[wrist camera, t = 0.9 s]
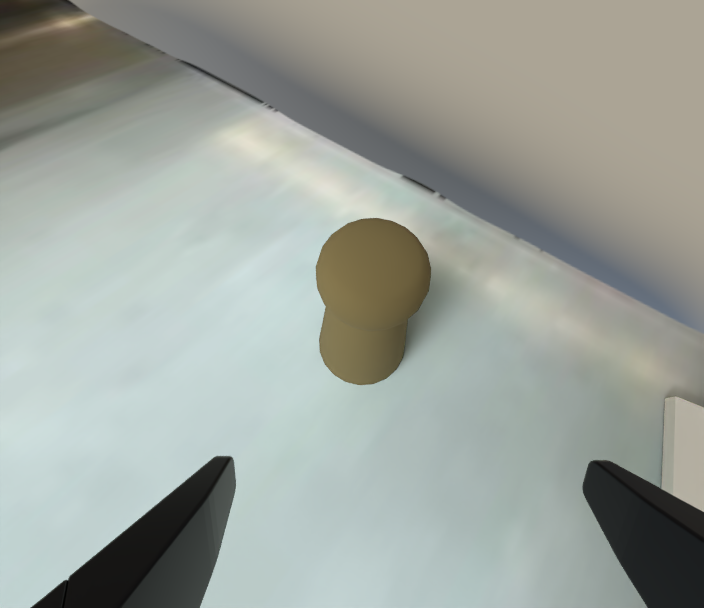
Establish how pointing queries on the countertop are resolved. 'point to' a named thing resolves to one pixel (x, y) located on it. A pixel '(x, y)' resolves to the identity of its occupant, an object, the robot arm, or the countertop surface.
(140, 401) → the countertop surface
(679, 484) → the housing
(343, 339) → the cork
